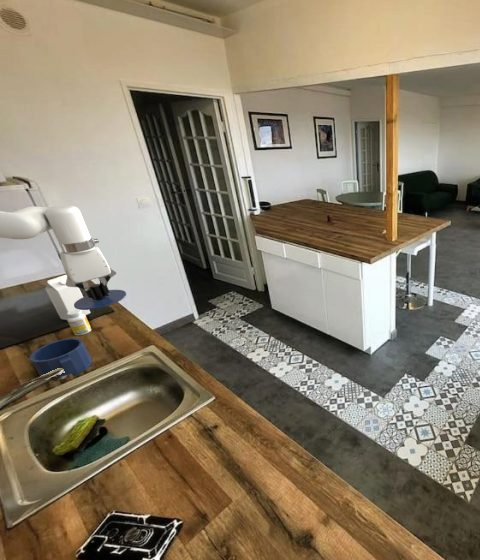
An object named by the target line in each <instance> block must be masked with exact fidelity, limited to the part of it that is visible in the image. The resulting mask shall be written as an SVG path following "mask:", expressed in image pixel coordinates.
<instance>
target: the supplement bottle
mask: <svg viewBox="0 0 480 560" xmlns="http://www.w3.org/2000/svg"><path fill="white" fill-rule="evenodd" d="M67 316H68V317H69V318H68V319H67V320H66V321H67V324H68V325H69V327H70V329H71V331H72V333H73V335H74V336H84V335H86V334H88V333H91V331H92V328H91V324H90V322H89V320H88V318H87V315H84V314H82V312H81V310H72V311H70V312H68V313H67Z"/></svg>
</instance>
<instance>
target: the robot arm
mask: <svg viewBox="0 0 480 560" xmlns="http://www.w3.org/2000/svg"><path fill="white" fill-rule="evenodd" d="M50 230H52V232H53V234H54V236H55V238H56V240H57V242H58V244H59V247H60V249H61V252H59V257H60V262H61V265H62V267H63V270H64V272H65V275H67V280H66V286H67V287H78V288H79V289H80V290H84V291H85V293H86V296H87V295H88V297H89V298H92V299H93V300H96V296H95V294H94V292H93V290H92V289H91V288H90V285H89V283H88V281H92V280H97V279H98V281H99V284H100V285H101V287H102V290H103V292H104V294H105V296H109V295H108V293H109V290H110V289H109V287H108V283H109V281H110V280H111V278H113V277H114V276H115V275H117V272H116V271H115V270H114V269H113V268H112V267H110V266H109V264H108V261H107V260H106V258H105V256H104V254H103V253H102V251H101V249H100V248H99V247H98V246H97V245H96V244H98V243H100V241H99V238H92V237H91V234H90V232H89V229H88V227H87V224H86V222H85V220H84V216H83V215H82V212H81V210H80V208H78V207H77V206H75V205H59V206H58V205H57V206H37V205H36V206H34V205H33V206H26V207H22V208H20V209H17V210H15V211H12V212H10V211H9V212H8V211H2V210H0V238H1V239H2V238H3V239H10V240H31V239H34V238H36V237H38V236H39V235H41V234H42V233H45V232H48V231H50Z"/></svg>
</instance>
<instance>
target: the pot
mask: <svg viewBox="0 0 480 560" xmlns="http://www.w3.org/2000/svg"><path fill="white" fill-rule="evenodd" d="M28 359H29V360H30V362H31V363H32V366H33V367H34V369H35V370H36V372H37V373H38V375H39V377H40V376H41V375H43V374H46V373H48V372H50V371H52V370H55V369H57V368H63V369H64V371H65V373H62V374H61V375H59V376H57V377H55V378H54V379H58V378H61V377H64V376H68V375H70V374H71V375H72V376H73V377H76V376H77V375H79V374H81V373H83V372H84V371H86V370H87V369H88V368H89V367H90V366H91V365H92V363H93V359H92V357H91V355H90V353H89V350H88V349H87V347H86V344H85V342H84V341H83V340H82V338H78V337H71V338H63V339H59V340H56V339H54V340H51V341H48V342H46V343H45V344H44V345H42V346H41V347H38V348H37V349H36V350H34V351H33V352H32V353H31V354H30V356H29V357H28Z"/></svg>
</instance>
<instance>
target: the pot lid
mask: <svg viewBox="0 0 480 560" xmlns="http://www.w3.org/2000/svg"><path fill="white" fill-rule="evenodd" d="M89 287H90V288H91V289H92V290H93V292H94V294H95V296H96V300H93V299H92V298H89V297H88V295H87V294H86V295H85V296H83V298H81V299H79V300H77V301H76V302H75V303H74V307H75V308H76V309H79V310H89V311H90V310H98V309H101V308H106V307H109V306H112V305H114V304H117V303H118V302H121V301H122V300H123V299H125V298H126V297H127V292H126V291H125V290H123V289H108V290H109V293H108V295H109V296H105V294H104V292H103V290H102V287H101V285H100V283H94V284H91V285H89Z"/></svg>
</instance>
